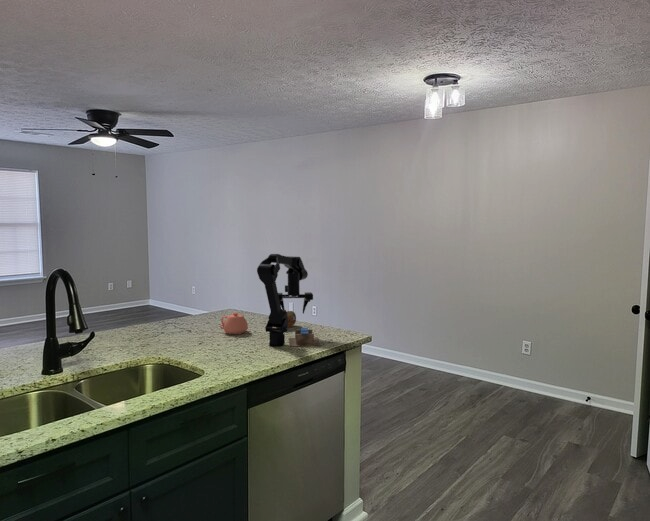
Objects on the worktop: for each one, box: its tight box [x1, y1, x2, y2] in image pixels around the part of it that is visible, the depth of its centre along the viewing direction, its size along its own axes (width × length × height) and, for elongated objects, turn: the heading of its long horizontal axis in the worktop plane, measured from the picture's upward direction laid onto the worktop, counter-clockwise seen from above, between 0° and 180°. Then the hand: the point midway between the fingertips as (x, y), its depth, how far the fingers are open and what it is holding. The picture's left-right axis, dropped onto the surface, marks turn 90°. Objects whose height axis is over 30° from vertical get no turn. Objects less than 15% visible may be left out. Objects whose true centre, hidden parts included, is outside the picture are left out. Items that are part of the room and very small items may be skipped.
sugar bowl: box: [219, 312, 249, 335], centre depth 233 cm, size 12×14×10 cm
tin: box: [275, 310, 297, 329], centre depth 245 cm, size 15×3×8 cm, turn 143°
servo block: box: [299, 327, 309, 334], centre depth 215 cm, size 3×9×6 cm, turn 7°
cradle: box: [288, 328, 322, 348], centre depth 215 cm, size 14×14×5 cm
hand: (293, 313), depth 226 cm, fingers open, 9 cm apart
